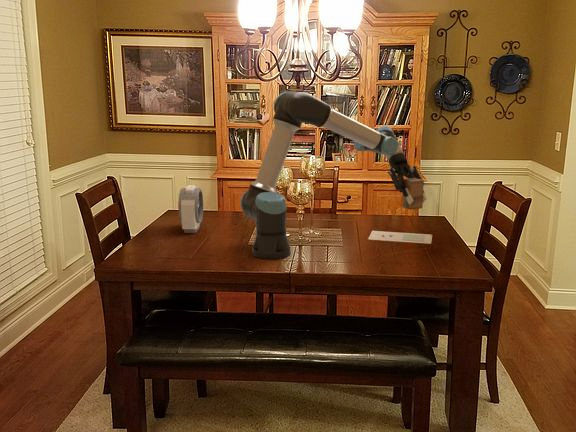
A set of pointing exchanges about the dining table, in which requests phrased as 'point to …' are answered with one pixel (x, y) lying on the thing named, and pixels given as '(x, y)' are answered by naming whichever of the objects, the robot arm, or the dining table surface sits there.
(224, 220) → the dining table surface
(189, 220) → the alarm clock
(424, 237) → the board
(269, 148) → the robot arm
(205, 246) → the dining table surface
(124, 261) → the dining table surface
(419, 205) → the walnut block
